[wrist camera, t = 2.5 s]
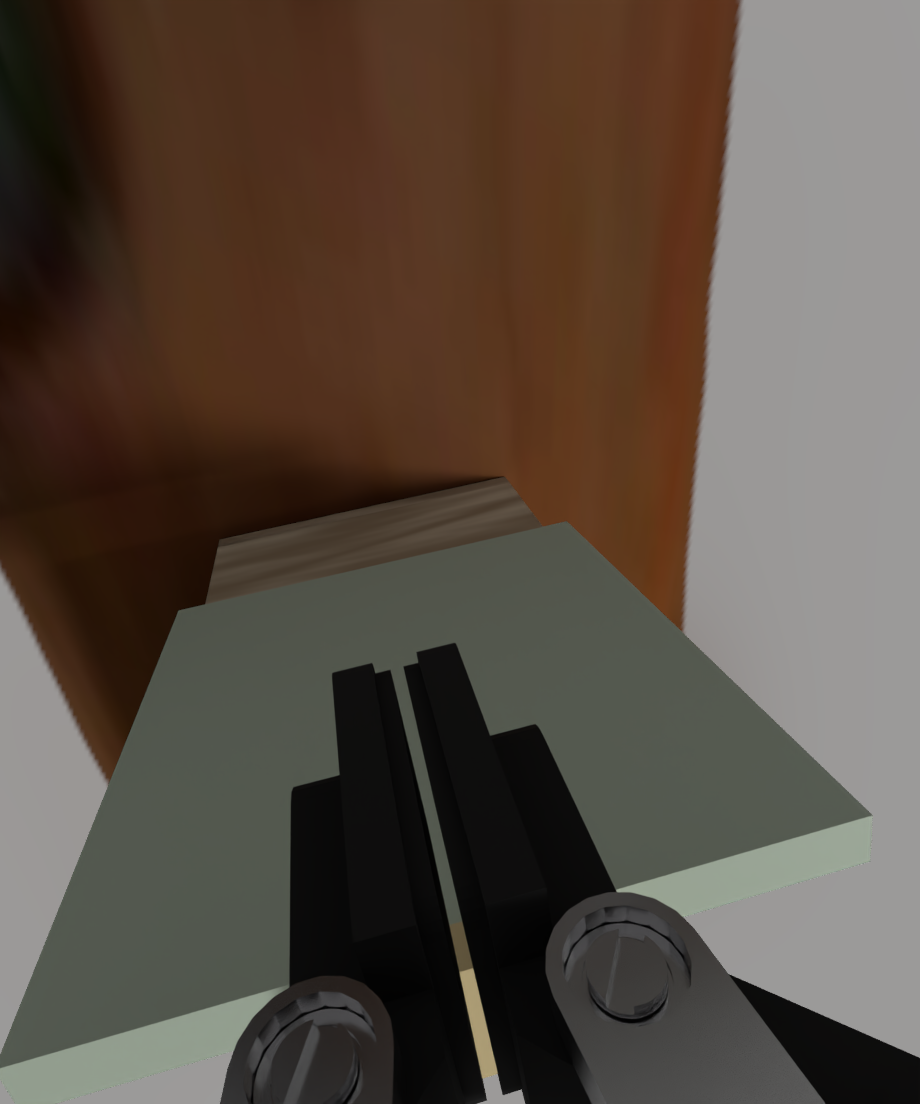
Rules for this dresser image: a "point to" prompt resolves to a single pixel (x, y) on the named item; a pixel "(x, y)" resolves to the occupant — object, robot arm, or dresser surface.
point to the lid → (311, 755)
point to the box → (367, 537)
